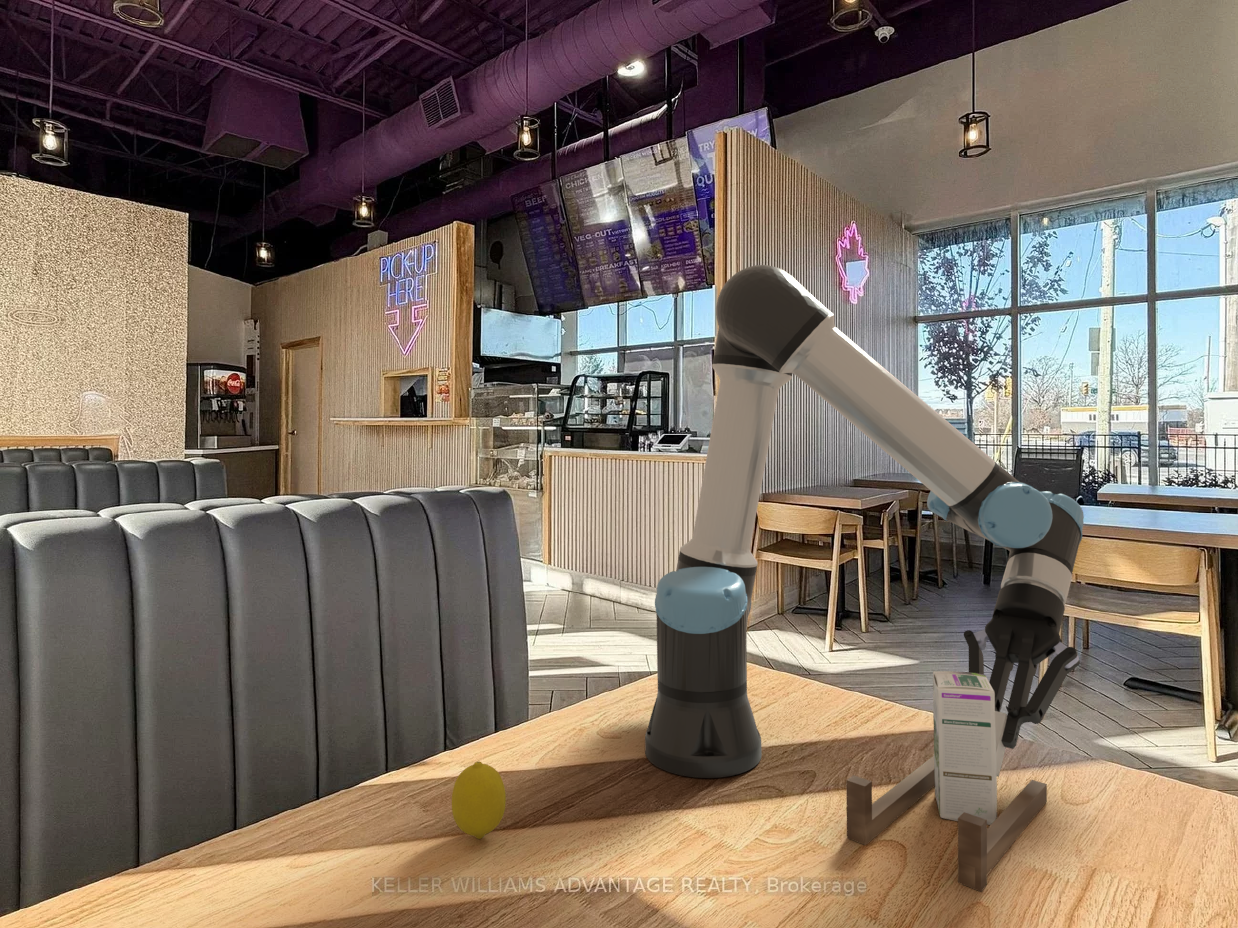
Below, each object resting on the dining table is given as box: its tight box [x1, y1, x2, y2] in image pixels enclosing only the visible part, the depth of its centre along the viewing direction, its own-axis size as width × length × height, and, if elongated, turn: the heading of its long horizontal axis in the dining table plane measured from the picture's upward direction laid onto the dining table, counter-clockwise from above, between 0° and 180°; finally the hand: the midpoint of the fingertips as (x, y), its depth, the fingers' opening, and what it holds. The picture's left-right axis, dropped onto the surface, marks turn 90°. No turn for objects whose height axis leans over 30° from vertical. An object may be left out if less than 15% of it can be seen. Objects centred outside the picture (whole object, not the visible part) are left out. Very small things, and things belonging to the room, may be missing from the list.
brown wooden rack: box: [845, 755, 1048, 893], centre depth 78 cm, size 13×22×6 cm, turn 135°
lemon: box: [451, 761, 507, 840], centre depth 76 cm, size 6×6×8 cm
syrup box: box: [932, 670, 998, 826], centre depth 80 cm, size 6×6×14 cm
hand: (988, 768), depth 83 cm, fingers closed
